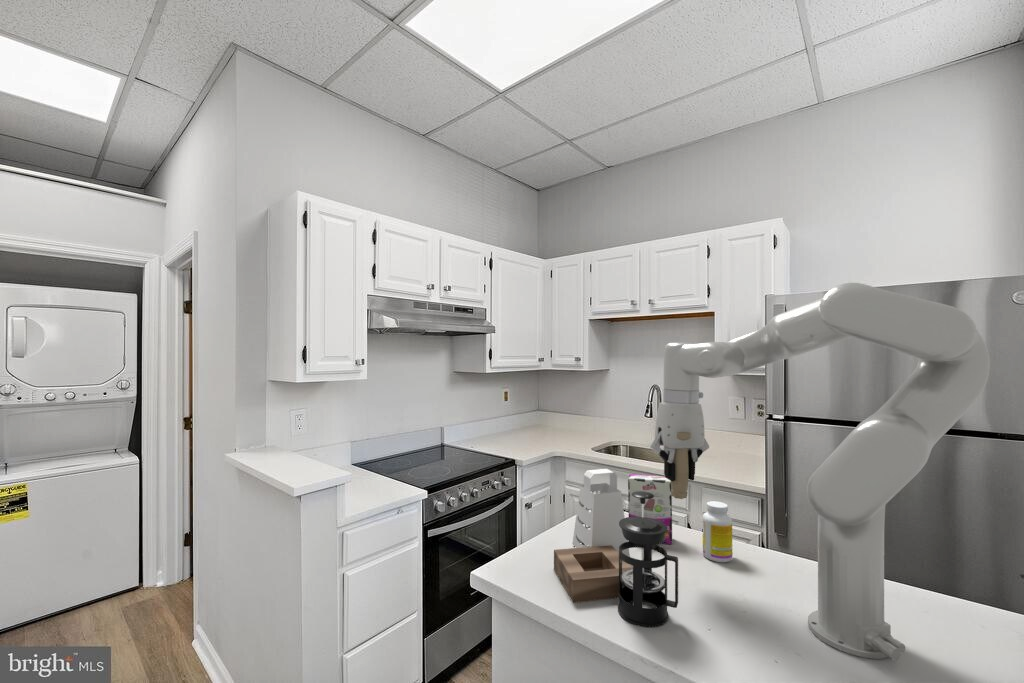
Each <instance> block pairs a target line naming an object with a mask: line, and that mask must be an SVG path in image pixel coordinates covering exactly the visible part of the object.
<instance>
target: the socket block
mask: <svg viewBox="0 0 1024 683" xmlns="http://www.w3.org/2000/svg"><path fill="white" fill-rule="evenodd" d="M631 569H633V566H632V565H630V564H628V563H626V562H624V561H623V560H622V573H623V572H624V571H627V570H631ZM553 571H554V572H555V574H556V576H557V577H558V579H559V581H560V583H561V584H562V586H563V588H564V590H565V591H566V593H567V595H568V597H569V598H570V600H571V601H572V603H575V604H576V603H582V602H594V601H604V600H612V599H619V553H618V552H617V551H616V550H615V549H614V547H613V546H612V545H607V546H595V547H589V546H584V547H582V548H574V547H573V548H560V549H554V550H553ZM623 586H624V585H623V583H622V587H623Z"/></svg>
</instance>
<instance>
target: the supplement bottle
mask: <svg viewBox="0 0 1024 683" xmlns="http://www.w3.org/2000/svg"><path fill="white" fill-rule="evenodd" d="M706 510H707V511H706V512H704V513H703V514H702V554H703V556H704V557H705V558H707V559H708V560H710V561H713V562H715V563H716V562H717V563H729V562H731V561H732V560H733V553H734V552H733V519H732V517H731V516H730V515H729V514H728V510H729V507H728V504H727V503H724V502H723V501H722V502H721V501H717V500H716V501H715V500H714V501H713V500H712V501H707V502H706Z"/></svg>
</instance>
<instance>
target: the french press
mask: <svg viewBox="0 0 1024 683" xmlns="http://www.w3.org/2000/svg"><path fill="white" fill-rule="evenodd" d="M632 496H634V497H636V498H640V503H641V504H642V517H629V516H627V517H625V518H623V519H621V520H620V521H619V526H620V528H622V533H623V536H624V538H625V539H626V540H628V542H624V543H622V544H621V545H620V546H619V598H618V605H617V612H618V614H619V617H621V618H622V619H623V620H624V621H626V622H627V623H630V624H631V625H634V626H638V627H640V628H659V627H661V626H663V625H665V624H666V623H668V621H669V612H668V607H670V608H673V609H676V608H677V607H678V604H679V558H678V556H675V555H670V554H668V552H667V550H666V548H664V547H663V546H661V544H663V543H662V542H663V541H664V540H665V533H666V531H667V526H666V525H665V524H664V523H663V522H661V521H658V520H656V519H652V518H647V517H644V504H645V499H651V498H653V497H654V495H653V494H652V493H649V492H645V491H636V492H633V493H632ZM659 544H660V545H659ZM628 548H629V549H633V548H635V549H636V548H640V549H641V559H638V558H634V557H631V556H630V557H629V556H627V555H625V554H623V553H622V551H623V550H625V549H628ZM653 551H655V552H657V553H659V554H661V555H662V556H663V557H662V558H660V559H655V560H653V556H652V555H653ZM622 560H623V561H624V562H626V563H628V564H629V565H630V566H631V567H632V568H633V569H631V570H627V571H624V572H623V573H622ZM668 561H670V562H674V586H675V587H674V600H670V599H668ZM661 567H662V568H663V567H664V577H663V576H662V575H660V574H659V573H656V572H655V571H653V569H658V568H661ZM622 583H623V585H624V586H623V587H622ZM663 591H664V592H663ZM643 603H646V604H649V605H651V606H654V607H644V605H643Z"/></svg>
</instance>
